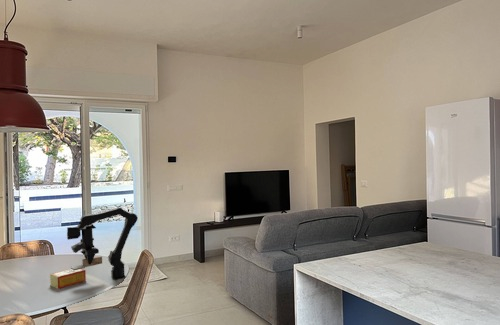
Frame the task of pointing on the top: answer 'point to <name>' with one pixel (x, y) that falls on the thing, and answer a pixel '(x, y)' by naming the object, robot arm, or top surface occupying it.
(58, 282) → the baking soda box
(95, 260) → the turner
